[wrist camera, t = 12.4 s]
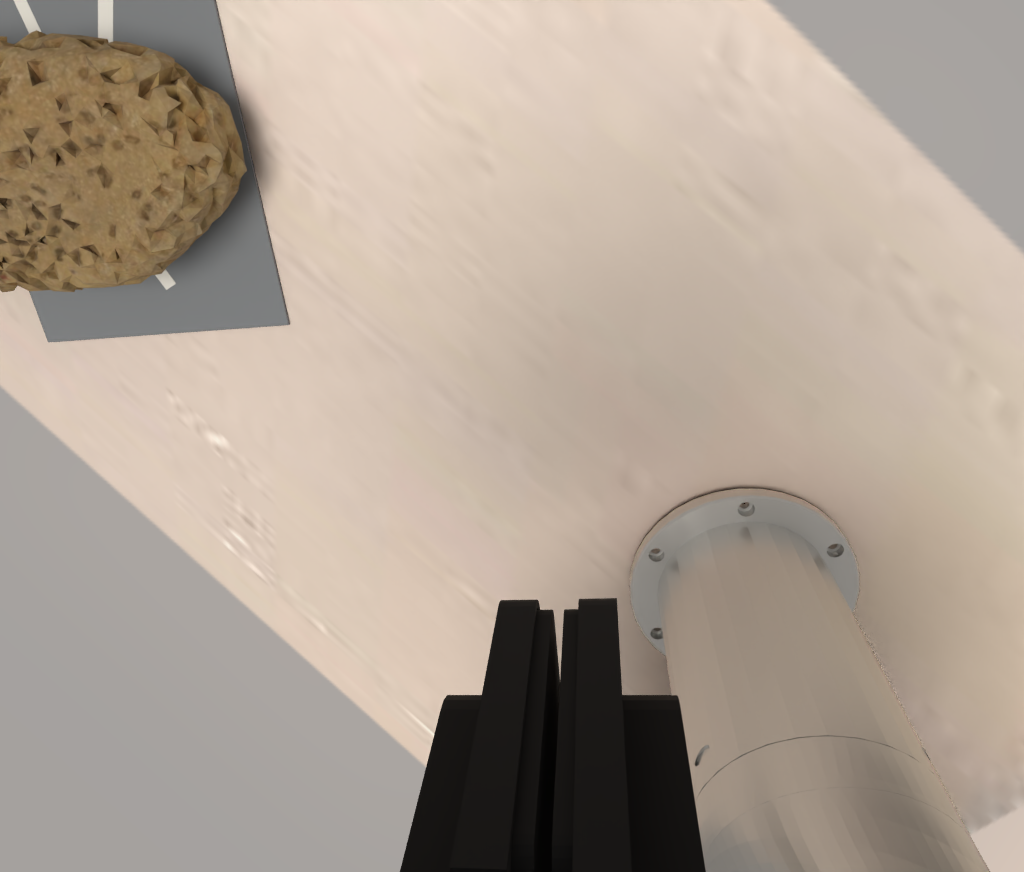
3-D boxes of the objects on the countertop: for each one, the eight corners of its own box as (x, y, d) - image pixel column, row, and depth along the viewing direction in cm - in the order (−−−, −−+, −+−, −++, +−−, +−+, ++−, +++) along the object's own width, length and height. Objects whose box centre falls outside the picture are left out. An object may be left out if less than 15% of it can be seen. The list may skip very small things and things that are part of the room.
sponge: (-98, 219, 38) (210, 373, 35) (-288, 196, 31) (84, 389, 28) (-51, -36, 35) (291, 112, 32) (-250, -132, 27) (174, 50, 25)
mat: (289, 324, 37) (288, 324, 37) (50, 341, 39) (48, 342, 39) (152, -273, 28) (150, -276, 27) (-157, -213, 29) (-161, -215, 29)
